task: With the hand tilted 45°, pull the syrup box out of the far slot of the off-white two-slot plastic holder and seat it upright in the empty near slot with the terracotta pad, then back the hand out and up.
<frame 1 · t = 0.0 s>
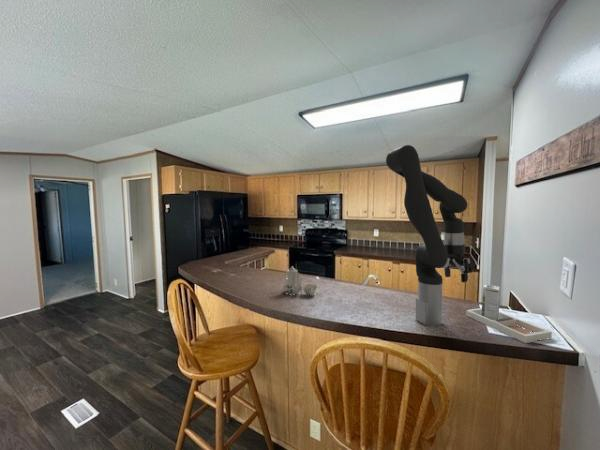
hand: (455, 279, 110), 17 cm above the table, tool pointing down, fingers open, 8 cm apart
two-slot holder: (504, 325, 103), on the table
syrup box: (490, 320, 109), resting in two-slot holder
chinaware: (297, 292, 150), on the table
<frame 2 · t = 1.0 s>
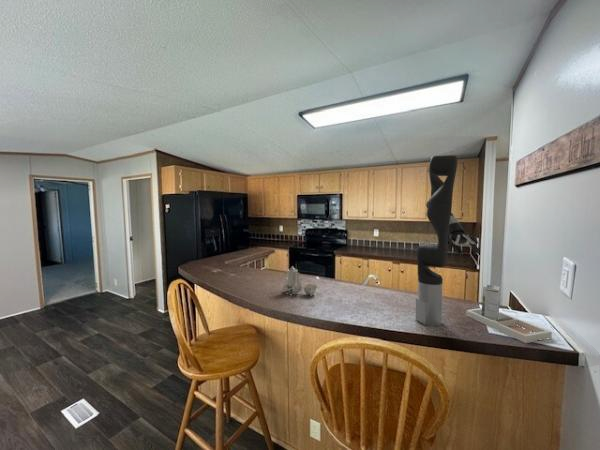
hand: (469, 252, 119), 27 cm above the table, tool tilted 45°, fingers open, 8 cm apart
nothing on the table moved.
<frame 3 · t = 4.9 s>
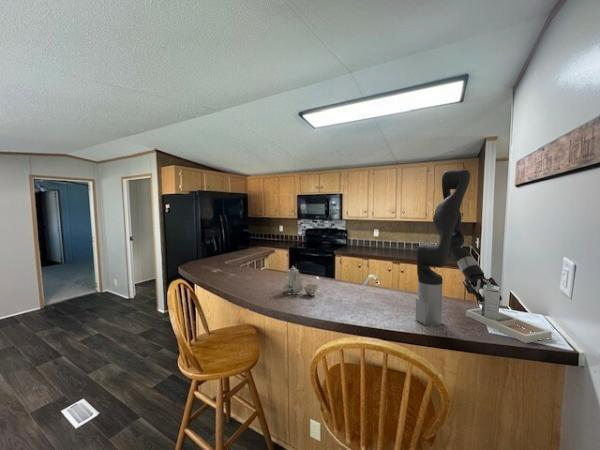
hand: (491, 301, 108), 8 cm above the table, tool tilted 45°, fingers open, 8 cm apart
syrup box: (490, 320, 109), resting in two-slot holder, touching gripper
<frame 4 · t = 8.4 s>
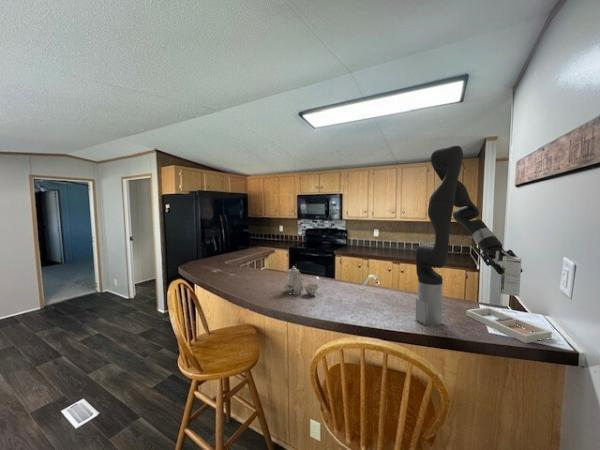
hand: (511, 273, 100), 22 cm above the table, tool tilted 45°, fingers closed on syrup box, 8 cm apart
syrup box: (509, 293, 101), point 14 cm above the table, touching gripper
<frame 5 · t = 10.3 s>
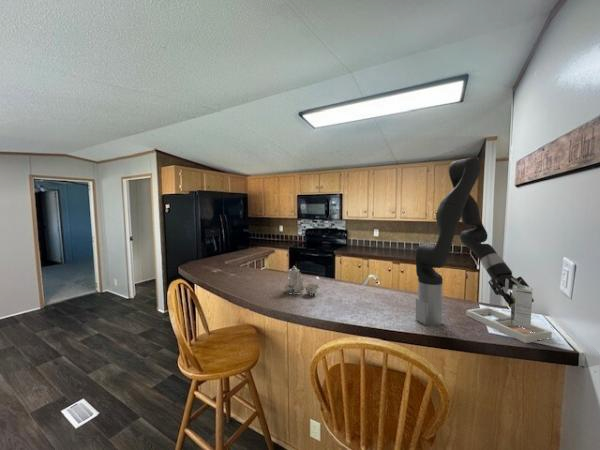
hand: (521, 303, 96), 12 cm above the table, tool tilted 45°, fingers closed on syrup box, 8 cm apart
syrup box: (520, 324, 97), point 3 cm above the table, touching gripper
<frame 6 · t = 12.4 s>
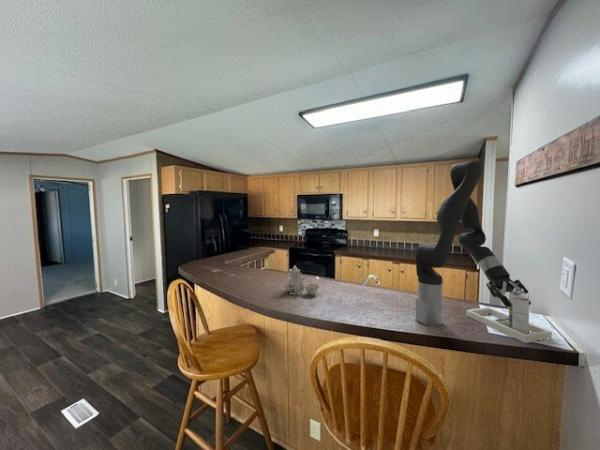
hand: (519, 305, 97), 10 cm above the table, tool tilted 45°, fingers closed on syrup box, 8 cm apart
syrup box: (518, 331, 98), resting on two-slot holder, touching gripper
when the fingers open (10 cm above the table, at t = 12.4 s): syrup box stays where it is, resting on two-slot holder.
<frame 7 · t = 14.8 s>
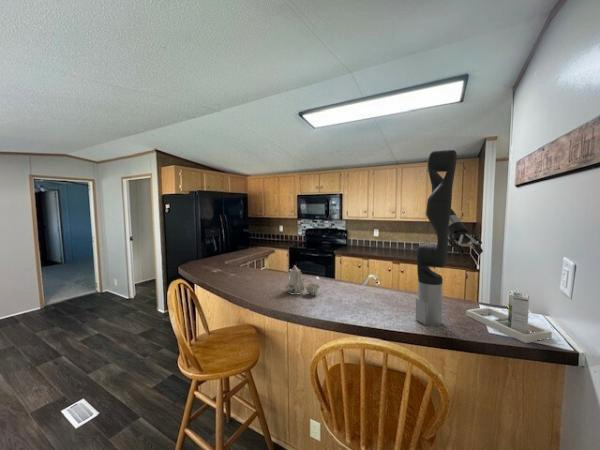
hand: (472, 253, 114), 28 cm above the table, tool tilted 45°, fingers open, 8 cm apart
syrup box: (517, 331, 98), resting on two-slot holder
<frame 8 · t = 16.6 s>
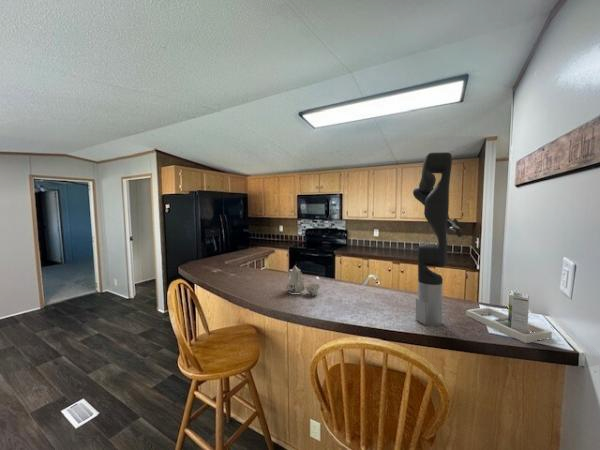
hand: (453, 236, 122), 35 cm above the table, tool tilted 45°, fingers open, 8 cm apart
at the end: syrup box 0.9 cm from the target spot on the two-slot holder, point 0.0 cm above the two-slot holder's base; syrup box tilted 0°; the gripper is holding nothing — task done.
